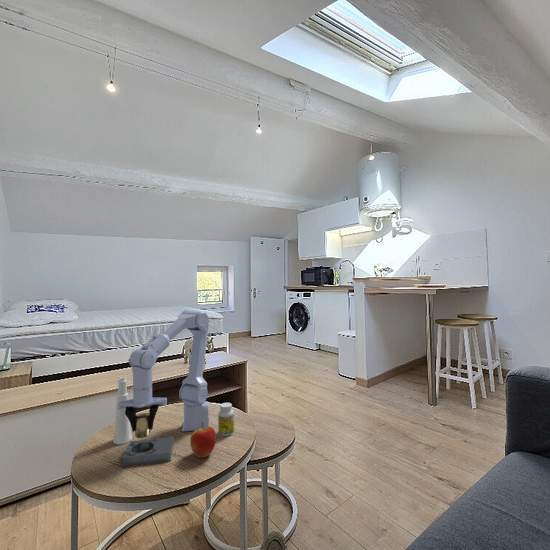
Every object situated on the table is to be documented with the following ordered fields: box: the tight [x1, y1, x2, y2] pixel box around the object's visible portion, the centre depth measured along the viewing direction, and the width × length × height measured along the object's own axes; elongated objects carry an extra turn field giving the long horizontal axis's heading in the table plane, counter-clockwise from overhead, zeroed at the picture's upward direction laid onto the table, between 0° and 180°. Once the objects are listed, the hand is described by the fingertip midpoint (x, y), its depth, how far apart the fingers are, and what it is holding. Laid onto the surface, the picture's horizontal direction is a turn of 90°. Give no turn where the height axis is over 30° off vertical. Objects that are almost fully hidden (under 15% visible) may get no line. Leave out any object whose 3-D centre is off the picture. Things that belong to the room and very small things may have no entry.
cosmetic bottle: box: [112, 376, 133, 445], centre depth 111 cm, size 6×6×22 cm
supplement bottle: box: [217, 402, 235, 437], centre depth 115 cm, size 6×6×10 cm
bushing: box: [134, 412, 151, 439], centre depth 101 cm, size 4×4×6 cm
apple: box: [189, 423, 217, 458], centre depth 101 cm, size 8×8×10 cm
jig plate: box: [121, 436, 175, 468], centre depth 101 cm, size 14×10×2 cm
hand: (142, 429), depth 101 cm, fingers closed on bushing, 4 cm apart
